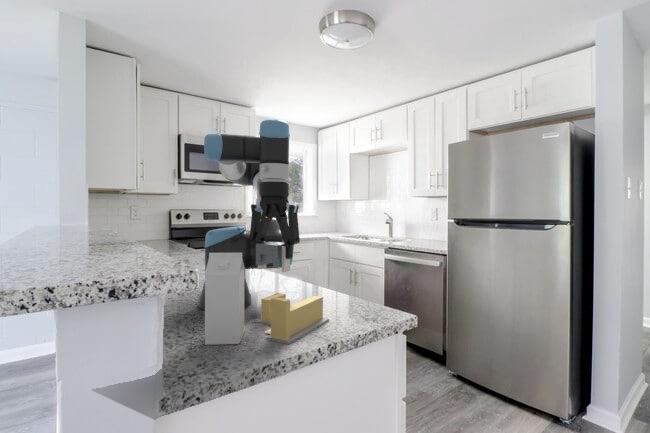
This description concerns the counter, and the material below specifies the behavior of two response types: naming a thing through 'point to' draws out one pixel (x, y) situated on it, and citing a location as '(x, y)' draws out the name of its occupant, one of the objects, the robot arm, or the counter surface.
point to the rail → (295, 318)
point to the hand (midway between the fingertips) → (273, 269)
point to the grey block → (269, 253)
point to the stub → (267, 309)
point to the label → (268, 331)
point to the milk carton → (224, 299)
